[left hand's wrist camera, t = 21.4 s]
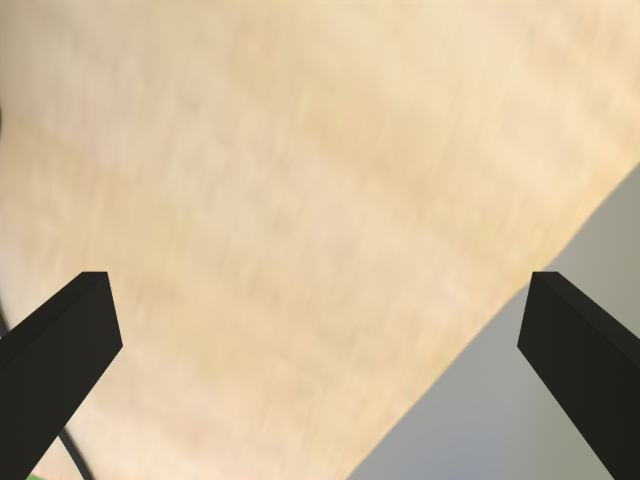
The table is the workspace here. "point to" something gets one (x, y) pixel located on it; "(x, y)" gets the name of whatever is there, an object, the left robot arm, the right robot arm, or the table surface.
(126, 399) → the table surface
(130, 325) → the table surface
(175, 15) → the table surface
